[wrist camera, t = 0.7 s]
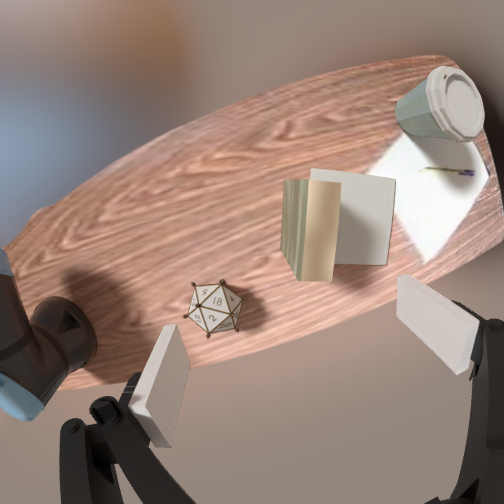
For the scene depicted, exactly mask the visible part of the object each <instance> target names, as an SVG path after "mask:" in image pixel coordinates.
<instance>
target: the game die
mask: <svg viewBox="0 0 504 504" xmlns="http://www.w3.org/2000/svg"><path fill="white" fill-rule="evenodd" d="M191 284H192V286H193V287H195V288H194V292H193V296H192V300H191V303H190V307H189V311H188V315H184V316H183V318H187V317H189V318H191V319H192V320H193V321H194V322H195V323H196V324H198V325H199V326H200V327H201V328H202V329H203V330H205V331H206V332H207V333H208V334H207V336H206V337H207V339H209V338H210V336H211V335H210V334H211V333H216V332H221V331H226V330H230V329H235V331H236V332H239V329H238V328H236V325H237V321H238V317H239V313H240V309H241V305H242V302H243V300H247V299H248V297H246V296H245V297H243V298H241V297H240V296H239V295H237V294H236V293H234V292H233V291H232V290H230V289H229V288H227V287H226V286H225V285H223V284H224V280H223V279H222V280H220V283H218V284H209V285H200V286H196V285H195V283H193V282H191Z"/></svg>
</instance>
